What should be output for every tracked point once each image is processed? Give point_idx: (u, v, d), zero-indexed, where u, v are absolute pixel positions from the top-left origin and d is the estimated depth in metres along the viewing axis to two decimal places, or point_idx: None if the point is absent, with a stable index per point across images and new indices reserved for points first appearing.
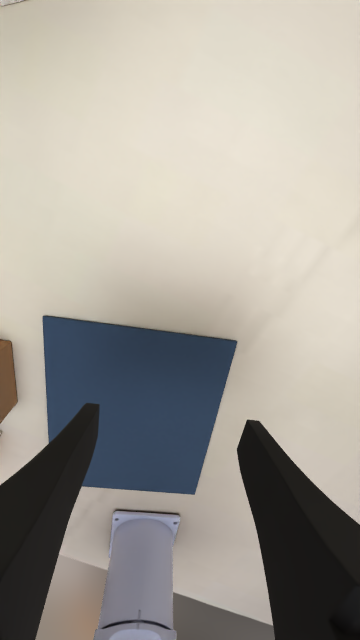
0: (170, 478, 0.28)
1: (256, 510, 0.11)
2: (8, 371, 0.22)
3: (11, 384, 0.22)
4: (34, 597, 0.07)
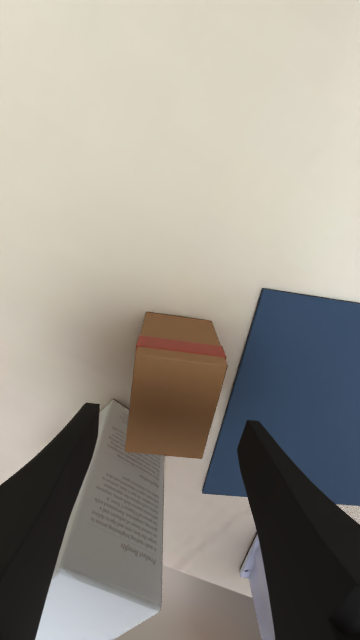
0: (340, 487, 0.24)
1: (256, 510, 0.11)
2: None
3: None
4: (34, 597, 0.07)
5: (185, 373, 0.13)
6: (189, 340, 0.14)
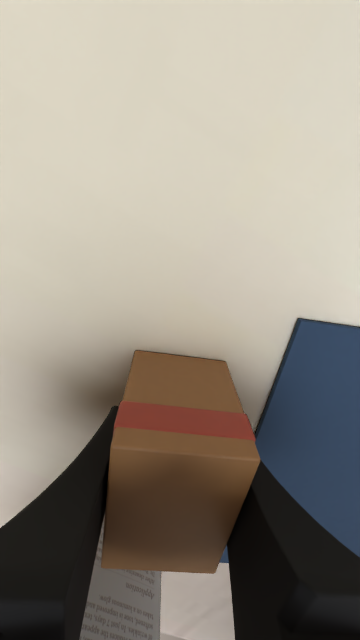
0: None
1: None
2: None
3: None
4: (82, 599, 0.07)
5: (192, 471, 0.08)
6: (198, 403, 0.10)
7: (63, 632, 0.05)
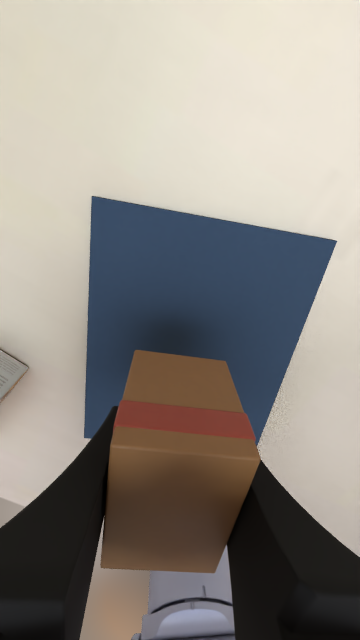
0: None
1: None
2: None
3: None
4: (82, 599, 0.07)
5: (192, 471, 0.08)
6: (197, 403, 0.10)
7: (63, 632, 0.05)
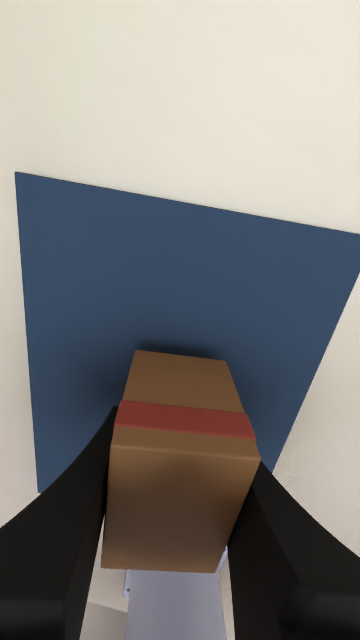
0: None
1: None
2: None
3: None
4: (82, 599, 0.07)
5: (192, 471, 0.08)
6: (198, 403, 0.10)
7: (63, 632, 0.05)
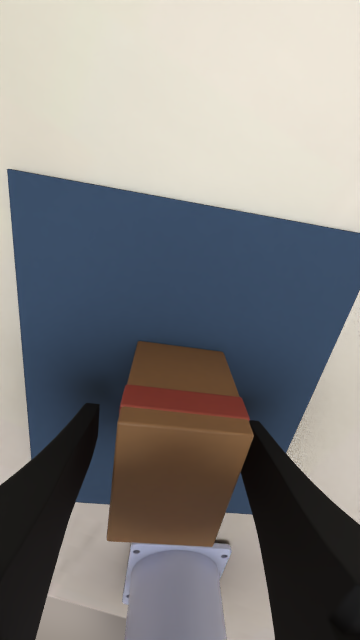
0: None
1: (256, 510, 0.11)
2: None
3: None
4: (34, 597, 0.07)
5: (191, 447, 0.09)
6: (196, 388, 0.10)
7: None
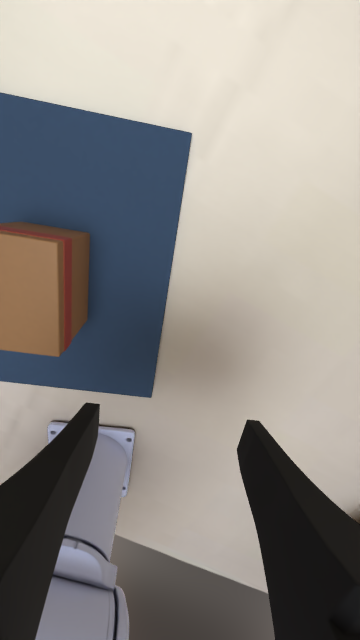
0: (117, 371, 0.22)
1: (256, 510, 0.11)
2: (85, 271, 0.18)
3: (85, 291, 0.18)
4: (34, 597, 0.07)
5: (15, 251, 0.13)
6: (40, 232, 0.14)
7: None
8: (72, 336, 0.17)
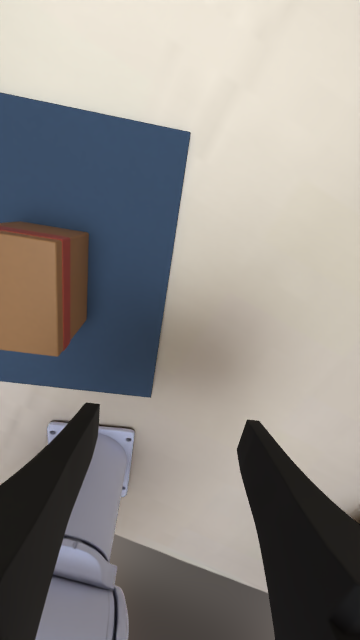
0: (117, 371, 0.22)
1: (256, 510, 0.11)
2: (84, 271, 0.18)
3: (84, 291, 0.18)
4: (34, 597, 0.07)
5: (14, 251, 0.12)
6: (39, 232, 0.14)
7: None
8: (71, 336, 0.17)
